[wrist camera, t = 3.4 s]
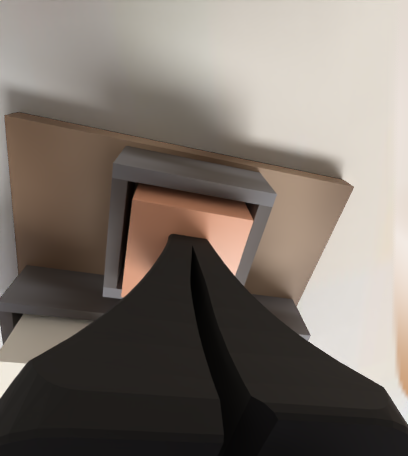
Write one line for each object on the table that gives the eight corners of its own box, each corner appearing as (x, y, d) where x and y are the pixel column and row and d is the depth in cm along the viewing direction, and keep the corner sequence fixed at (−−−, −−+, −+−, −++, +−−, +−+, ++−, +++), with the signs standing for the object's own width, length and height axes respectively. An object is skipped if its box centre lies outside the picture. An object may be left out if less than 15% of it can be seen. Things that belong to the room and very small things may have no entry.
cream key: (35, 361, 15) (3, 424, 12) (31, 301, 13) (-8, 360, 10) (116, 367, 15) (102, 429, 13) (123, 311, 14) (109, 369, 11)
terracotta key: (132, 252, 14) (121, 296, 11) (143, 170, 12) (132, 199, 9) (215, 264, 14) (223, 309, 12) (238, 188, 12) (253, 220, 10)
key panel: (33, 339, 17) (1, 397, 14) (17, 112, 12) (-42, 126, 8) (260, 359, 20) (275, 413, 17) (343, 179, 14) (389, 210, 11)
